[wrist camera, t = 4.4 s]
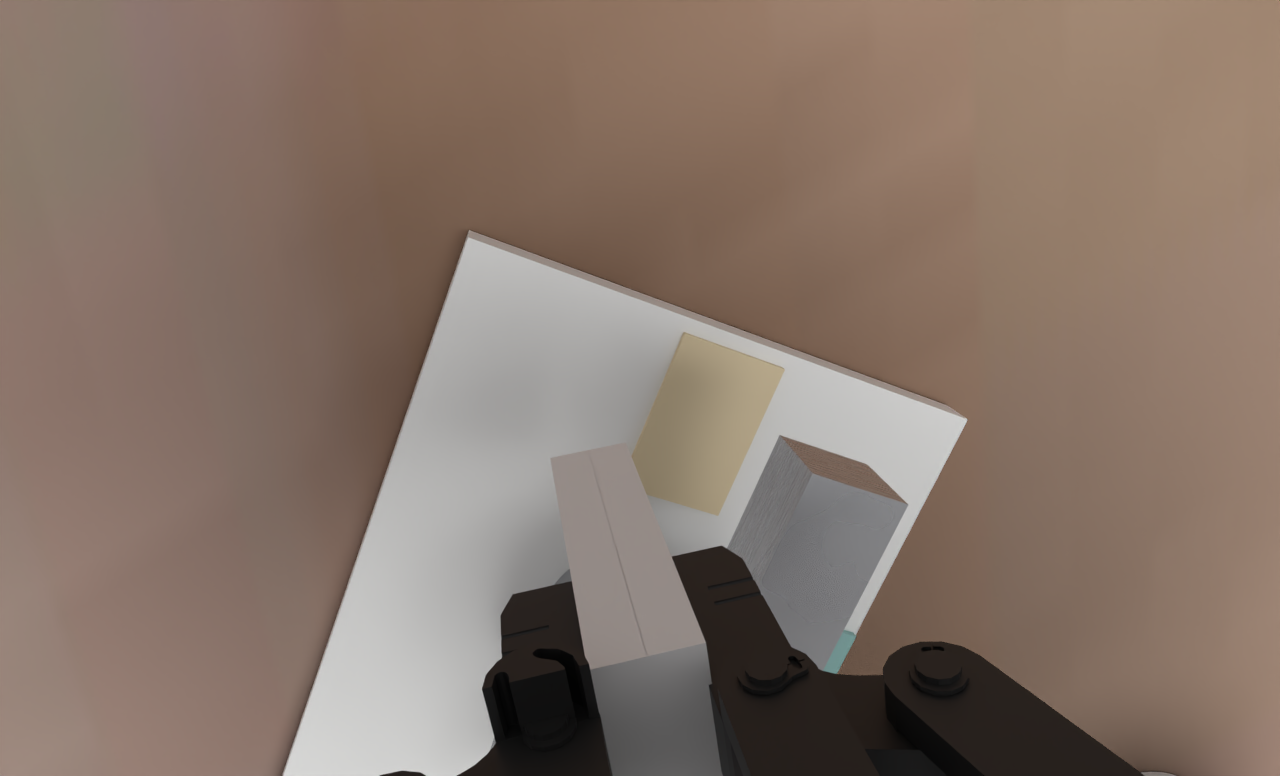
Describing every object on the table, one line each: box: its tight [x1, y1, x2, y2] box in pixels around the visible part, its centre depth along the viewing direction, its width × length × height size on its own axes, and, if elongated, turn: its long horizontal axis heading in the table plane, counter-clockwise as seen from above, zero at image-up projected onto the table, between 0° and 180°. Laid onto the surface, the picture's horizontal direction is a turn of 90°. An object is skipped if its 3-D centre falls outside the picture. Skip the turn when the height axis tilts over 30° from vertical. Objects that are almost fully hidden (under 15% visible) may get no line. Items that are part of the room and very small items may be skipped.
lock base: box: [282, 230, 968, 776], centre depth 22 cm, size 18×15×10 cm
